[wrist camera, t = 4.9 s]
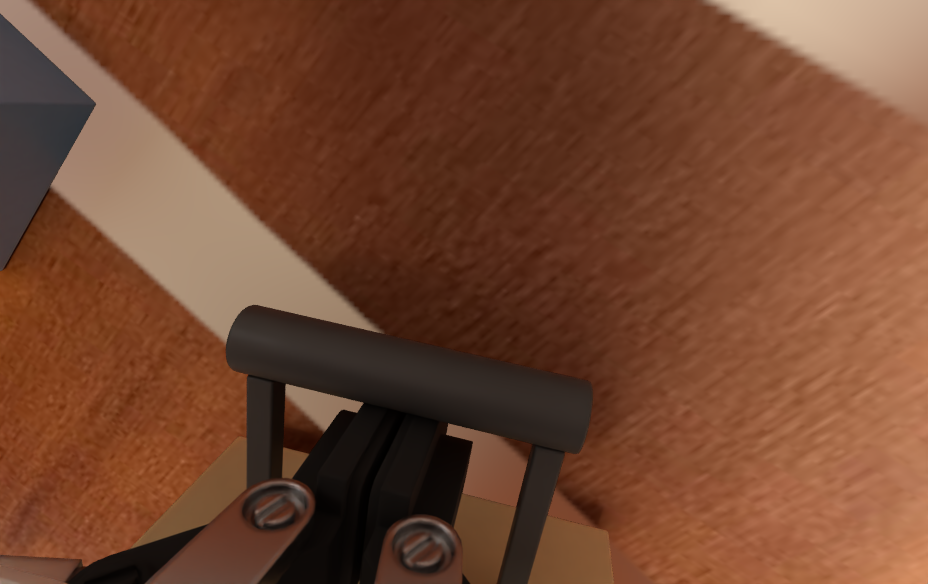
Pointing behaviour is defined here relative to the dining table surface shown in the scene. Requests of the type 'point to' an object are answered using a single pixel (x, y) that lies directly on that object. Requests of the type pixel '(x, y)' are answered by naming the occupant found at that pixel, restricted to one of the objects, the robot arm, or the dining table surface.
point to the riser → (32, 130)
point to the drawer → (422, 394)
